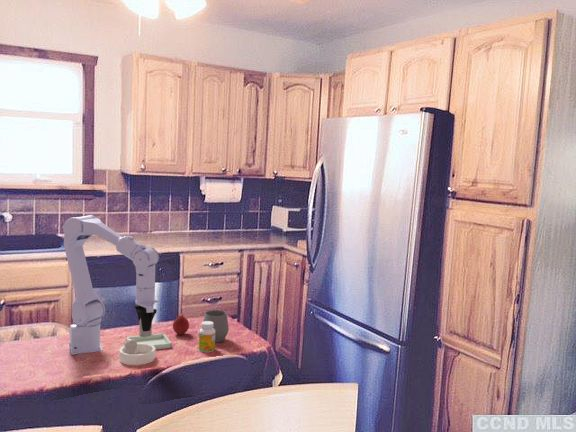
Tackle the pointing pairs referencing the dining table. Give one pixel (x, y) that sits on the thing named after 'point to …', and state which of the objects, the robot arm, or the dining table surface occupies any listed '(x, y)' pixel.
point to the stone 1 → (131, 346)
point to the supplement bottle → (207, 337)
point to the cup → (218, 323)
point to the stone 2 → (144, 333)
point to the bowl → (138, 355)
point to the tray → (153, 340)
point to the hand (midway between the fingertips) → (144, 328)
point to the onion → (180, 325)
